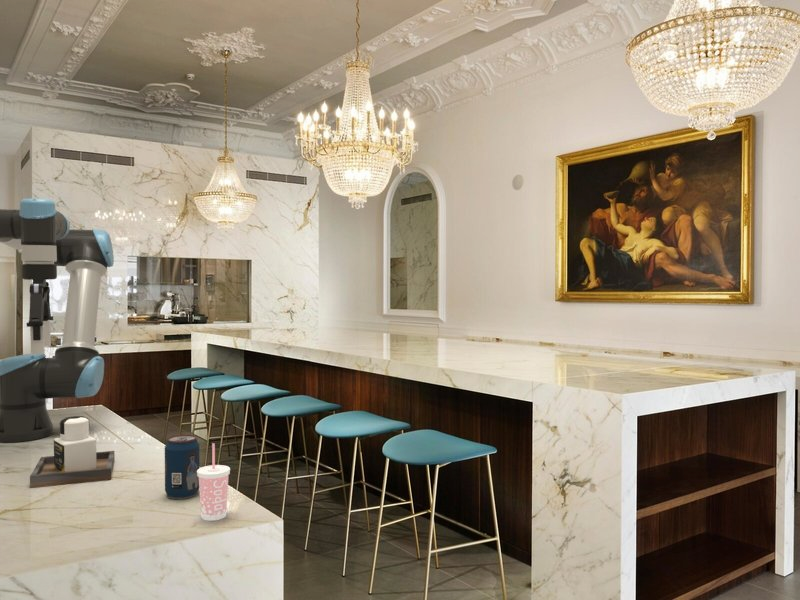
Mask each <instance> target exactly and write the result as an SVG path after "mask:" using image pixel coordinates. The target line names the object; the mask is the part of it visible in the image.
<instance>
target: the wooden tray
mask: <svg viewBox="0 0 800 600" xmlns="http://www.w3.org/2000/svg"><path fill="white" fill-rule="evenodd" d="M115 459H116V457H115V450H107V451H96V469H89V470H78V471H68V472H59V471H58V470H56V469H55V468H54V455H50V456H41V457H40V459H39V460H38V462H37V463H36V464H35V467H34V469H33V470H32V472H31V474H30V475H29V488H30V489H32V488H41V487H51V486H53V487H54V486H60V485H61V486H62V485H63V486H64V485H69V484H70V485H73V484H80V483H81V484H82V483H90V482H91V483H92V482H100V481H110V480H112V476H113V471H114V467H115Z"/></svg>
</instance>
